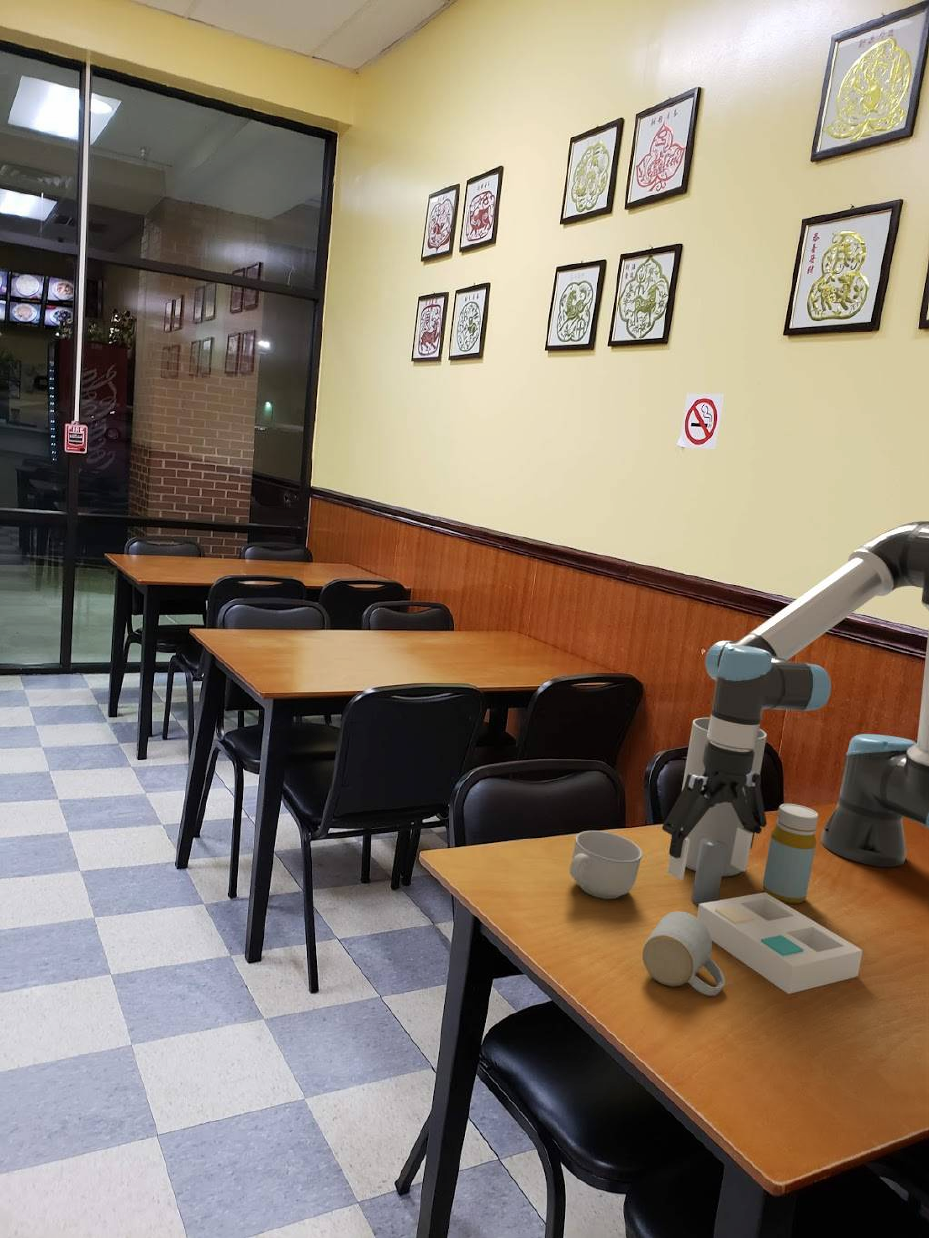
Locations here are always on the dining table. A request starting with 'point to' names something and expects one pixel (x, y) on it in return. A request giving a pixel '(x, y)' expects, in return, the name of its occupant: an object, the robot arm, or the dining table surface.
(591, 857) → the teacup
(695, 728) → the cylinder vase
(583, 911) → the dining table surface
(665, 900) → the dining table surface
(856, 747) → the robot arm
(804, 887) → the bottle
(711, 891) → the plug
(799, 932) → the socket block
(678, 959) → the ceramic mug
